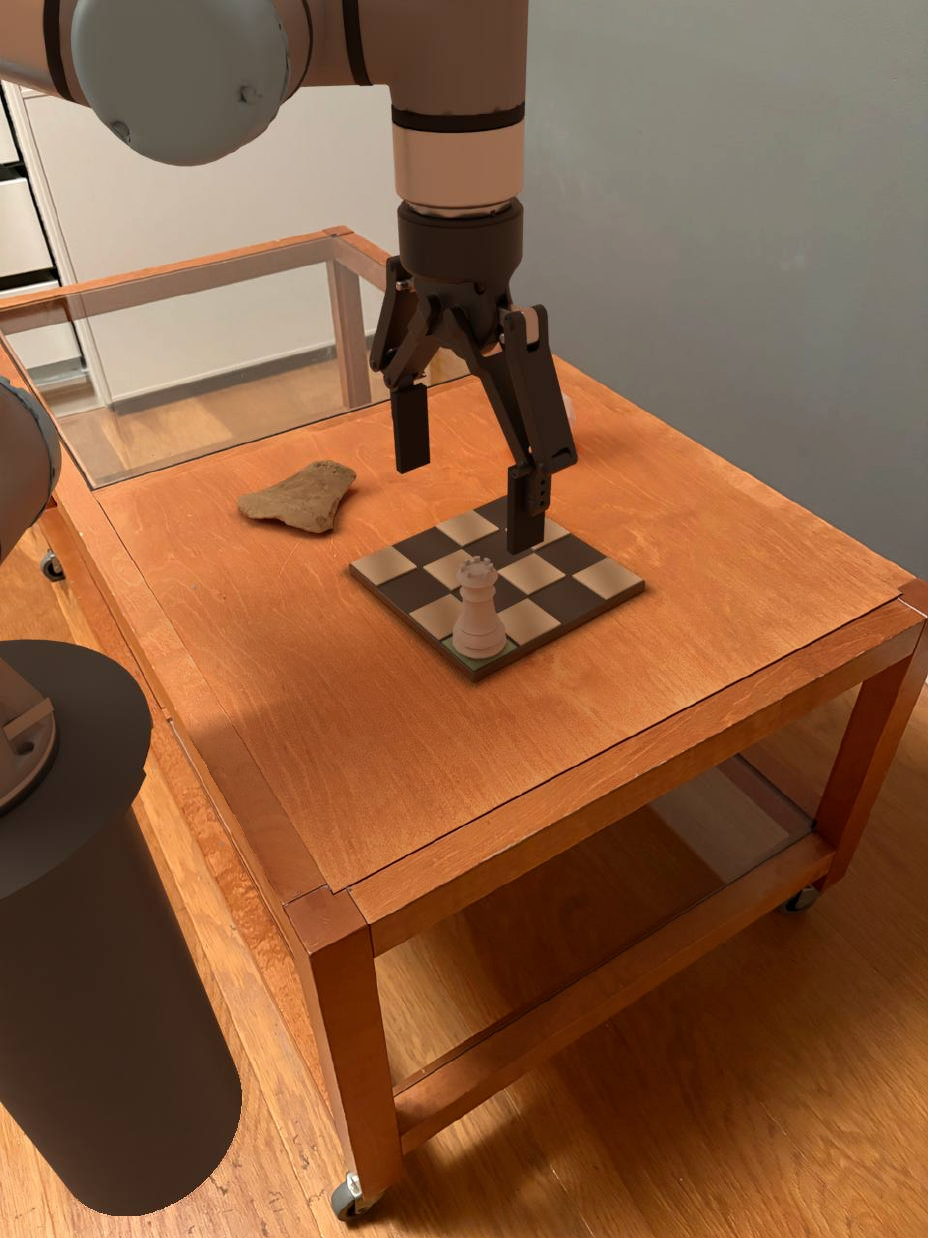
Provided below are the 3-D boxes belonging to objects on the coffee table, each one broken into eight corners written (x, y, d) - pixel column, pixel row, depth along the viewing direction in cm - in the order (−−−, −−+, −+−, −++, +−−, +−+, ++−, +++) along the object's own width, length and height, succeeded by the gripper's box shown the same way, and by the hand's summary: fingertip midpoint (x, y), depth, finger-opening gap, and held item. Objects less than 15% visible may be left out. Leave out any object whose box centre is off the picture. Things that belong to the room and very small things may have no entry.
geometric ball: (530, 463, 108) (534, 392, 107) (588, 459, 102) (592, 384, 102) (486, 454, 102) (490, 379, 102) (545, 450, 97) (549, 371, 96)
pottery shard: (327, 551, 93) (372, 482, 98) (313, 520, 90) (360, 450, 95) (239, 533, 97) (287, 467, 103) (222, 502, 94) (273, 436, 99)
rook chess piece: (471, 669, 75) (468, 590, 70) (442, 640, 78) (436, 561, 73) (517, 648, 77) (517, 569, 72) (486, 620, 80) (484, 542, 75)
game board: (473, 683, 76) (473, 672, 75) (349, 572, 88) (347, 562, 87) (645, 590, 84) (646, 579, 84) (509, 501, 97) (509, 491, 96)
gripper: (659, 237, 50) (623, 564, 63) (396, 147, 65) (412, 425, 79) (550, 269, 46) (536, 608, 60) (300, 166, 62) (334, 453, 75)
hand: (466, 504), depth 69 cm, fingers open, 13 cm apart
